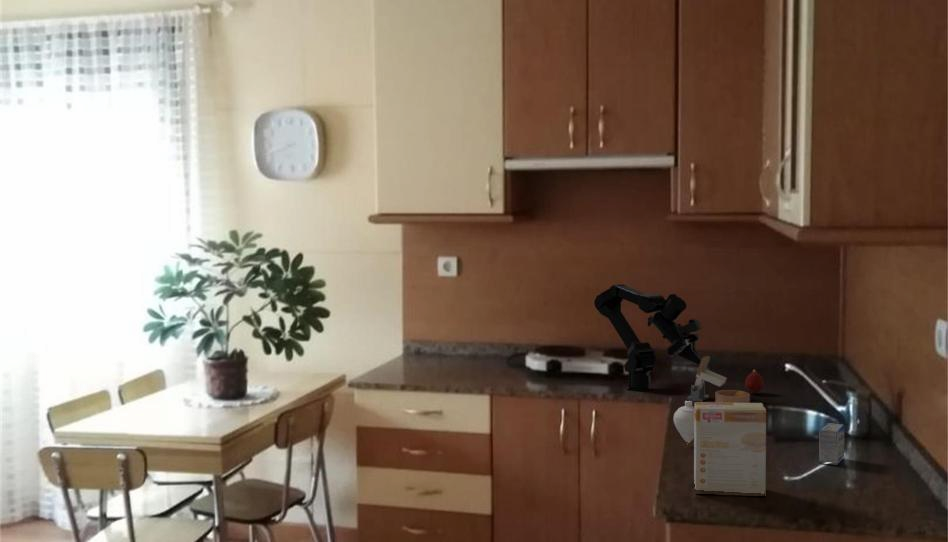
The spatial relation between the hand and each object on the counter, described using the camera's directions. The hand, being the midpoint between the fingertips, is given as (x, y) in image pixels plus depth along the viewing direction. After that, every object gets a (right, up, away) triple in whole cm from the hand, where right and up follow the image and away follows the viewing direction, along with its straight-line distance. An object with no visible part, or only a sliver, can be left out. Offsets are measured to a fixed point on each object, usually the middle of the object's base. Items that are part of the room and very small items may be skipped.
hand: (701, 364), depth 298 cm
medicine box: (+15, -17, -68) cm, 72 cm away
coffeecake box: (-16, -19, -91) cm, 94 cm away
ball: (+11, -10, -5) cm, 15 cm away
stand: (-1, -11, +2) cm, 12 cm away
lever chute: (+1, -9, 0) cm, 9 cm away
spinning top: (-17, -16, -54) cm, 59 cm away
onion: (+19, -11, +9) cm, 24 cm away
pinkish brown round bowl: (+9, -12, -4) cm, 15 cm away
